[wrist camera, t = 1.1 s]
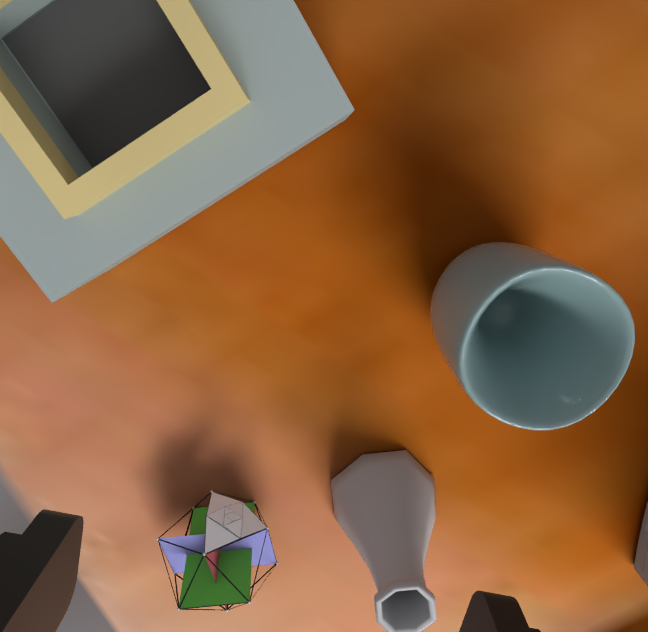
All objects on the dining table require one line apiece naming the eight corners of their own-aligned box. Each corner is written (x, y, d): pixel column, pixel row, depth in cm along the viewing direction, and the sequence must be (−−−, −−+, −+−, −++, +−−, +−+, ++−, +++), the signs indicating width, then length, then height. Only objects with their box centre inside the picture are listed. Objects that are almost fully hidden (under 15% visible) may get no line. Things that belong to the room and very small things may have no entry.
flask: (312, 472, 37) (311, 583, 28) (413, 431, 37) (447, 530, 27) (355, 555, 39) (368, 685, 30) (452, 517, 39) (497, 638, 29)
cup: (459, 208, 33) (519, 232, 23) (571, 267, 34) (672, 313, 24) (395, 323, 35) (426, 389, 25) (503, 375, 36) (572, 458, 26)
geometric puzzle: (284, 602, 38) (268, 620, 30) (183, 612, 38) (141, 632, 30) (278, 490, 40) (261, 482, 33) (182, 499, 40) (144, 493, 33)
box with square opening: (200, -137, 28) (143, -278, 19) (344, 120, 31) (357, 107, 22) (-49, 46, 30) (-209, 0, 21) (112, 268, 33) (36, 312, 24)
